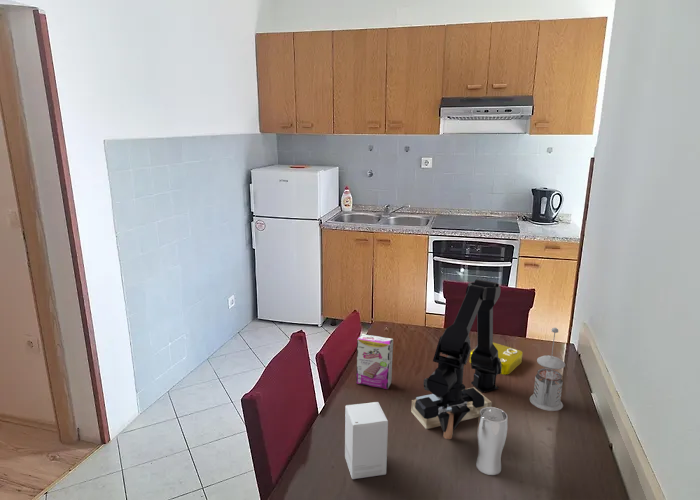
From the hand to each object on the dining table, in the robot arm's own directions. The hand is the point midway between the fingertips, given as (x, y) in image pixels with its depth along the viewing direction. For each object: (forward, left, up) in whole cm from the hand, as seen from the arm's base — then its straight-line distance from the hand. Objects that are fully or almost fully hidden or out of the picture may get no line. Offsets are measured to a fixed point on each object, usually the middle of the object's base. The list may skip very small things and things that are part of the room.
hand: (448, 430), depth 130 cm
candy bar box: (+8, -33, -2) cm, 34 cm away
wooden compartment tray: (-7, -10, -2) cm, 12 cm away
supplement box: (+26, +3, -2) cm, 26 cm away
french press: (-38, -4, -2) cm, 38 cm away
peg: (0, 0, -2) cm, 2 cm away
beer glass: (-3, +14, -2) cm, 15 cm away
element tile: (-41, -33, -3) cm, 52 cm away
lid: (-1, -9, +2) cm, 10 cm away
